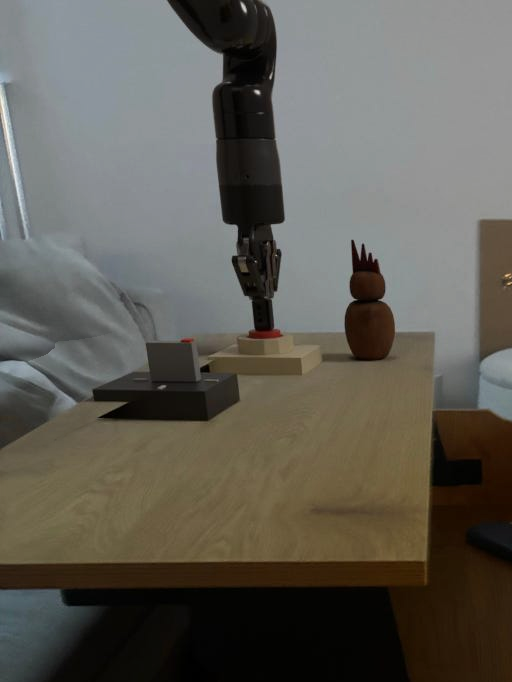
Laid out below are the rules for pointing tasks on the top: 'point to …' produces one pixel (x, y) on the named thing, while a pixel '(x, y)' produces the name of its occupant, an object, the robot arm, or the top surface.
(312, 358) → the stop box
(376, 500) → the top surface
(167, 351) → the gray flat block
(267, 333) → the stop button
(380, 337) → the wooden figurine
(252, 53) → the robot arm
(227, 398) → the panel
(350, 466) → the top surface
